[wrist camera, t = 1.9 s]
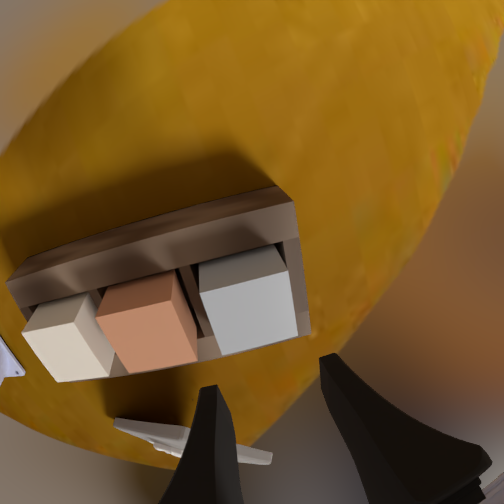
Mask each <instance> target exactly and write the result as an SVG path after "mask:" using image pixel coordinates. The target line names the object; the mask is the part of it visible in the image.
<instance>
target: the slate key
mask: <svg viewBox="0 0 504 504" xmlns="http://www.w3.org/2000/svg"><path fill="white" fill-rule="evenodd" d="M199 293H200V296H201V299H202V302H203V305H204V307H205V310H206V313H207V316H208V318H209V321H210V324H211V327H212V329H213V332H214V335H215V337H216V340H217V343H218V345H219V348H220V350H221V353H222V355H227V354H231V353H235V352H239V351H243V350H247V349H251V348H255V347H259V346H263V345H267V344H271V343H274V342H278V341H282V340H285V339H289V338H292V337H296V336H298V331H297V325H296V318H295V311H294V305H293V298H292V292H291V285H290V279H289V273H288V269H287V268H286V266H285V264H284V262H283V260H282V258H281V257H280V255H279V253H278V251H277V249H276V248H275V246H274V244H273V245H269V246H265V247H261V248H257V249H253V250H249V251H245V252H241V253H237V254H233V255H229V256H225V257H221V258H217V259H214V260H210V261H206V262H202V263H199Z"/></svg>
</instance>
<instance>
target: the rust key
mask: <svg viewBox="0 0 504 504" xmlns="http://www.w3.org/2000/svg"><path fill="white" fill-rule="evenodd" d="M95 319H96V320H97V322H98V324H99V326H100V327H101V329H102V331H103V333H104V334H105V336H106V338H107V339H108V341H109V343H110V344H111V346H112V348H113V349H114V351H115V352H116V354H117V356H118V357H119V359H120V360H121V362H122V363H123V365H124V366H125V368H126V369H127V371H128V372H129V373H135V372H142V371H148V370H153V369H159V368H165V367H170V366H175V365H180V364H185V363H190V362H195V361H198V356H197V327H196V324H195V322H194V319H193V317H192V314H191V312H190V309H189V307H188V304H187V301H186V299H185V296H184V294H183V291H182V288H181V286H180V283H179V280H178V278H177V275H176V272H175V269H174V270H171V271H167V272H163V273H159V274H155V275H151V276H147V277H143V278H139V279H135V280H131V281H128V282H124V283H120V284H116V285H112V286H108V288H107V290H106V292H105V295H104V297H103V299H102V302H101V304H100V307H99V309H98V311H97V314H96V316H95Z"/></svg>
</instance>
